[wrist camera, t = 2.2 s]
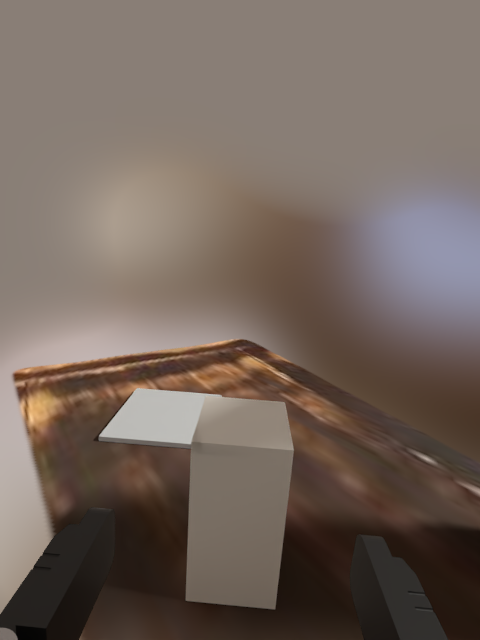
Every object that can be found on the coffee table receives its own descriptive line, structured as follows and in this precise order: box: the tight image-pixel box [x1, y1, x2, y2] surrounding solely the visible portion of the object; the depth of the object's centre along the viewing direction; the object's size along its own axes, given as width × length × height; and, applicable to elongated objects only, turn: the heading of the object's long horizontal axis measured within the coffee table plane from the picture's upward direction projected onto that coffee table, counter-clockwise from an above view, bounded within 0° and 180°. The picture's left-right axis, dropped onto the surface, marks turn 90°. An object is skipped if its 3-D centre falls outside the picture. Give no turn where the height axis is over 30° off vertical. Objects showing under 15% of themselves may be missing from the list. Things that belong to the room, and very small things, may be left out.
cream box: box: [185, 396, 294, 610], centre depth 24 cm, size 6×6×12 cm
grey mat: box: [99, 388, 222, 449], centre depth 45 cm, size 13×13×1 cm
